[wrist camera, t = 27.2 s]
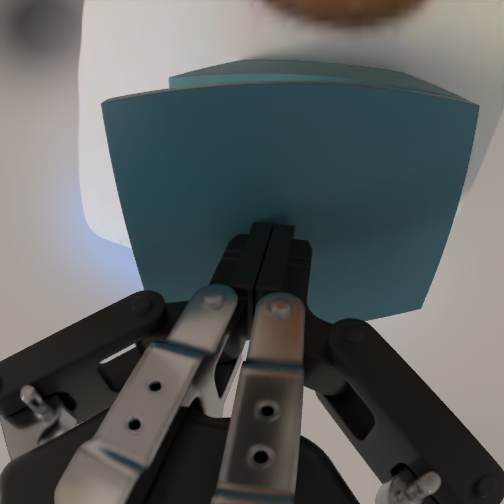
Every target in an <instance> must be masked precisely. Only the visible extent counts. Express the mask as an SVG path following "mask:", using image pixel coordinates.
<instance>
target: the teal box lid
mask: <svg viewBox="0 0 504 504" xmlns="http://www.w3.org/2000/svg"><path fill="white" fill-rule="evenodd" d="M101 107H102V113H103V119H104V125H105V131H106V137H107V142H108V148H109V153H110V158H111V163H112V168H113V173H114V177H115V182H116V186H117V191H118V195H119V199H120V204H121V208H122V212H123V216H124V220H125V224H126V228H127V231H128V235H129V239H130V243H131V246H132V250H133V253H134V257H135V260H136V264H137V267H138V271H139V274H140V277H141V281H142V284H143V287H144V290H151V291H155V292H158V293H159V294H161V295H162V296H163V298H164V300H165V303H171V302H182V301H188V300H190V299H191V297H192V296H193V294H194V293H195V292H196V291H197V290H198V289H200V288H202V287H204V286H207V285H209V283H210V281H211V279H212V277H213V275H214V272H215V270H216V268H217V266H218V264H219V262H220V260H221V258H222V256H223V253H224V252H225V249H226V247H227V245H228V243H229V241H230V240H231V239H233V238H234V237H235V236H236V235H238V234H246V235H248V234H249V232H250V229H251V227H252V225H253V222H263V223H274V225H275V224H285V225H295V239H298V240H308V242H309V244H310V246H311V247H312V249H313V251H312V261H311V271H310V280H309V288H308V296H307V305H308V307H309V309H310V311H311V312H312V313H313V314H314V315H315V316H316V317H318V318H320V319H322V320H324V321H326V322H329V323H331V324H334V323H335V322H337V321H339V320H341V319H345V318H355V319H359V320H362V321H368V320H373V319H378V318H382V317H387V316H391V315H396V314H400V313H405V312H409V311H413V310H417V309H421V307H422V305H423V302H424V300H425V297H426V295H427V293H428V290H429V288H430V285H431V283H432V280H433V278H434V275H435V272H436V270H437V267H438V265H439V262H440V259H441V256H442V254H443V251H444V248H445V245H446V242H447V239H448V236H449V233H450V230H451V227H452V224H453V220H454V217H455V214H456V210H457V207H458V203H459V200H460V196H461V193H462V189H463V185H464V181H465V177H466V173H467V169H468V164H469V160H470V155H471V151H472V146H473V141H474V135H475V130H476V124H477V118H478V112H479V105H477V104H475V103H472V102H470V101H466V100H462V99H457V98H453V97H448V96H443V95H438V94H432V93H426V92H420V91H414V90H407V89H400V88H393V87H385V86H376V85H366V84H354V83H340V82H320V81H251V82H231V83H217V84H205V85H195V86H186V87H177V88H169V89H162V90H155V91H149V92H143V93H137V94H131V95H126V96H120V97H115V98H110V99H107V100H106V101H104V102H103V103H101ZM246 340H249V339H246Z"/></svg>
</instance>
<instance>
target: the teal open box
mask: <svg viewBox="0 0 504 504" xmlns="http://www.w3.org/2000/svg"><path fill="white" fill-rule="evenodd" d="M251 81H320V82H340V83H354V84H366V85H376V86H385V87H393V88H400V89H407V90H414V91H420V92H426V93H432V94H438V95H443V96H448V97H453V98H457V99H462V100H466V99H464V98H462V97H460V96H458V95H456V94H453V93H451V92H449V91H447V90H445V89H442V88H440V87H438V86H436V85H433V84H431V83H428V82H426V81H424V80H421V79H419V78H416V77H413V76H411V75H408V74H406V73H402V72H396V71H390V70H384V69H377V68H370V67H363V66H355V65H346V64H336V63H324V62H309V61H287V60H240V61H235V62H230V63H225V64H221V65H216V66H212V67H207V68H203V69H199V70H195V71H191V72H188V73H184V74H180V75H177V76H173V77H170V78H169V86H170V88H177V87H186V86H195V85H205V84H217V83H231V82H251ZM466 101H468V100H466Z"/></svg>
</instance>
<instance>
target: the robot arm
mask: <svg viewBox="0 0 504 504" xmlns="http://www.w3.org/2000/svg"><path fill="white" fill-rule="evenodd" d="M312 251H313V249H312V247H311V246H310V244H309V242H308V240H298V239H295V225H285V224H275V225H274V223H263V222H253V225H252V227H251V229H250V232H249V234H248V235H246V234H238V235H236V236H235V237H234V238H233V239H231V240H230V241H229V243H228V245H227V247H226V249H225V252H224V253H223V256H222V258H221V260H220V262H219V264H218V266H217V268H216V270H215V272H214V275H213V277H212V279H211V281H210V283H209V285H207V286H204V287H202V288H200V289H198V290H197V291H196V292H195V293H194V294H193V296H192V297H191V299H190V300H188V301H182V302H171V303H165V300H164V298H163V296H162V295H161V294H159V293H158V292H155V291H151V290H144V291H139V292H136V293H134V294H132V295H130V296H128V297H126V298H124V299H122V300H120V301H118V302H116V303H114V304H112V305H110V306H108V307H106V308H104V309H102V310H100V311H98V312H96V313H94V314H92V315H90V316H88V317H86V318H84V319H82V320H80V321H78V322H76V323H74V324H72V325H70V326H68V327H66V328H64V329H62V330H60V331H59V332H56V333H55V334H53V335H51V336H49V337H47V338H45V339H43V340H41V341H39V342H37V343H35V344H33V345H31V346H29V347H27V348H25V349H24V350H22V351H20V352H18V353H16V354H14V355H12V356H10V357H8V358H6V359H4V360H3V361H1V362H0V422H1V426H2V430H3V434H4V438H5V442H6V446H7V449H8V453H9V456H10V459H11V462H10V463H8V464H7V466H6V467H5V468H4V470H3V471H2V473H1V475H0V504H360V503H359V502H358V500H357V499H356V497H355V496H354V495H353V493H352V491H351V490H350V489H349V487H348V486H347V484H346V482H345V481H344V479H343V478H342V477H341V475H340V473H339V472H338V471H337V469H336V468H335V466H334V464H333V463H332V461H331V460H330V458H329V457H328V456H327V455H326V454H325V453H324V451H323V450H322V449H321V448H319V447H318V446H317V445H316V444H315V443H313V442H312V441H310V440H309V439H307V438H305V437H303V436H301V435H300V431H301V418H302V403H303V386H305V387H308V388H310V389H312V390H315V392H316V395H317V397H318V399H319V400H320V401H321V403H322V404H323V406H324V407H325V408H326V410H327V411H328V412H329V414H330V415H331V416H332V418H333V419H334V420H335V422H336V423H337V424H338V426H339V427H340V429H341V430H342V431H343V433H344V434H345V435H346V437H347V438H348V439H349V441H350V442H351V443H352V444H353V446H354V447H355V448H356V450H357V451H358V452H359V454H360V455H361V456H362V458H363V459H364V460H365V461H366V463H367V464H368V466H369V467H370V468H371V469H372V471H373V472H374V473H375V475H376V476H377V477H378V479H379V480H380V481H381V482H382V484H383V485H382V486H381V487H380V489H379V491H378V493H377V495H376V499H375V500H376V501H375V504H500V503H501V501H502V500H503V498H504V471H503V470H502V468H501V467H500V466H499V465H498V464H497V462H496V461H495V460H494V459H493V458H492V456H491V455H490V454H489V453H488V452H487V451H486V450H485V448H484V447H483V446H482V445H481V444H480V443H479V442H478V440H477V439H476V438H475V437H474V436H473V435H472V434H471V432H470V431H469V430H468V429H467V428H466V427H465V426H464V425H463V424H462V423H461V421H460V420H459V419H458V418H457V417H456V416H455V415H454V414H453V412H452V411H451V410H450V409H449V408H448V407H447V406H446V405H445V404H444V403H443V401H441V400H440V398H439V397H438V396H437V395H436V394H435V393H434V392H433V391H432V390H431V389H430V387H428V385H427V384H426V383H425V382H424V381H423V380H422V379H421V378H420V377H419V376H418V374H417V373H416V372H415V371H414V370H413V369H412V368H411V367H410V366H409V365H408V364H407V363H406V362H405V361H404V360H403V359H402V357H401V356H400V355H399V354H398V353H397V352H396V351H395V350H394V349H393V348H392V347H391V346H390V345H389V344H388V343H387V342H386V341H385V340H384V339H383V338H382V337H381V335H380V334H379V333H378V332H377V331H376V330H375V329H374V328H373V327H371V325H369V324H368V323H366V322H365V321H362V320H359V319H355V318H345V319H341V320H339V321H337V322H335V323H334V324H331V323H329V322H326V321H324V320H322V319H320V318H318V317H316V316H315V315H314V314H313V313H312V312H311V311H310V309H309V307H308V305H307V296H308V288H309V280H310V271H311V261H312ZM246 339H249V340H250V342H249V348H248V353H247V358H246V361H243V363H242V366H241V370H240V375H239V380H238V385H237V390H236V396H235V401H234V406H233V410H232V415H231V418H222V413H223V406H224V403H225V400H226V398H227V395H228V393H229V390H230V388H231V385H232V383H233V380H234V378H235V375H236V373H237V370H238V368H239V365H240V362H241V360H242V355H243V354H242V351H243V348H244V345H245V341H246ZM134 343H135V345H136V347H135V348H133V349H131V350H130V351H127V352H126V353H124V354H122V355H120V356H118V357H116V358H114V359H112V360H111V361H109V362H107V363H103V364H100V362H101V361H102V360H104V359H106V358H108V357H110V356H111V355H113V354H115V353H117V352H119V351H121V350H123V349H125V348H127V347H128V346H130V345H132V344H134ZM89 418H90V419H89ZM87 419H88V420H87ZM85 420H86V421H85ZM83 421H84V422H83ZM81 422H83V423H81ZM80 423H81V424H80ZM77 424H79V425H77ZM76 425H77V426H76Z"/></svg>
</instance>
